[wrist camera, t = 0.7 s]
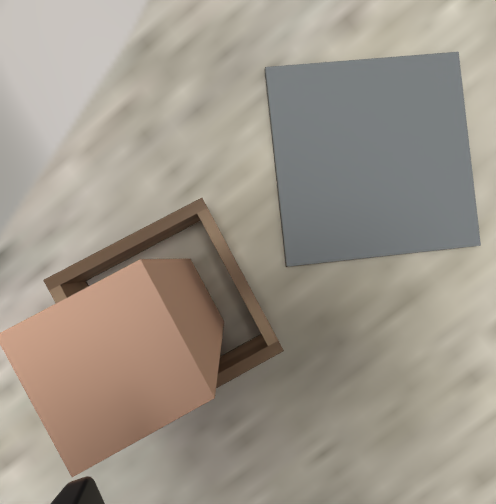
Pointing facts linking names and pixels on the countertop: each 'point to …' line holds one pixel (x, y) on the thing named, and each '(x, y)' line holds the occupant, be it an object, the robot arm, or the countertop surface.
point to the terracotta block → (119, 358)
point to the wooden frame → (154, 233)
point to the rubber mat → (372, 157)
